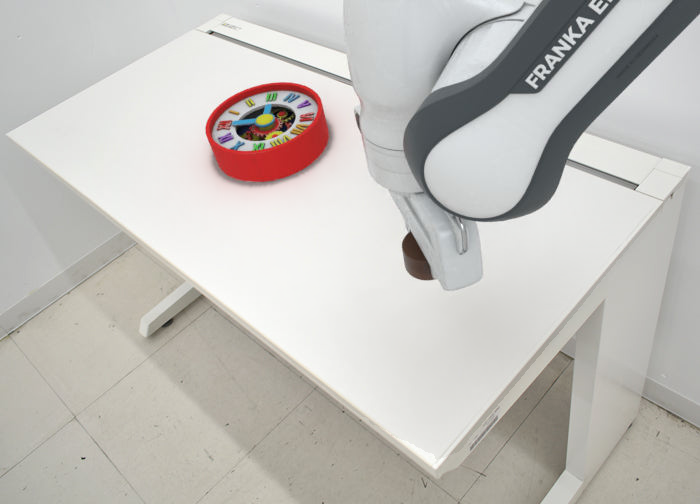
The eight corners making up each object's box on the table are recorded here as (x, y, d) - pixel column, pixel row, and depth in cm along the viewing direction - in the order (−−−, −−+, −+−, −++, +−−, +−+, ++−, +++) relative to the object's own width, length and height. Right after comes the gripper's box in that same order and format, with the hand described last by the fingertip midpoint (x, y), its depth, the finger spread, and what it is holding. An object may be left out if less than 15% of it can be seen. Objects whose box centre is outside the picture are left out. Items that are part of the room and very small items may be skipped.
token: (441, 239, 66) (439, 220, 64) (459, 271, 63) (458, 251, 61) (398, 254, 66) (394, 235, 64) (414, 287, 62) (411, 268, 60)
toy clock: (315, 147, 93) (192, 159, 96) (323, 176, 97) (204, 187, 100) (327, 76, 106) (219, 88, 109) (333, 104, 110) (229, 115, 114)
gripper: (502, 207, 46) (500, 315, 56) (407, 80, 60) (419, 184, 70) (425, 233, 46) (437, 338, 56) (348, 99, 60) (368, 202, 70)
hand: (427, 251), depth 63 cm, fingers closed on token, 5 cm apart
